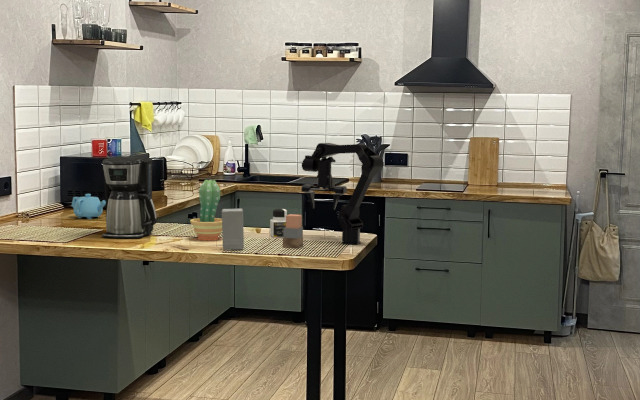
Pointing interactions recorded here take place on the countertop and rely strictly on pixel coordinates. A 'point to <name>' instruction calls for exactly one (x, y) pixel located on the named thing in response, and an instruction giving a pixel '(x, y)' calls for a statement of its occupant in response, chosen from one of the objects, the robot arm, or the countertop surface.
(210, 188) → the potted cactus
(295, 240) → the walnut block
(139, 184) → the coffee maker
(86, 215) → the teapot
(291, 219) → the terracotta cube
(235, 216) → the skincare box
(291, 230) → the charcoal block
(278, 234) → the medicine bottle
